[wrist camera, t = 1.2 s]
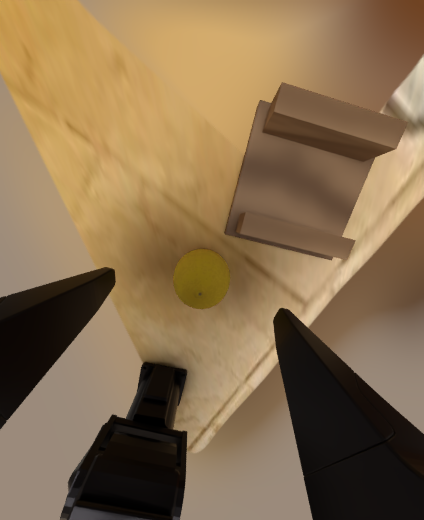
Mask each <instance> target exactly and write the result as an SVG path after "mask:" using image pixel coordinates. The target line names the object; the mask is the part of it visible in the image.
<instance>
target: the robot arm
mask: <svg viewBox="0 0 424 520" xmlns="http://www.w3.org/2000/svg"><path fill="white" fill-rule="evenodd" d="M115 282H116V280H115V270H114V269H112V268H108V267H104V268H101V269H97V270H94V271H90V272H87V273H84V274H80V275H77V276H73V277H70V278H66V279H63V280H59V281H56V282H52V283H49V284H46V285H42V286H39V287H35V288H32V289H29V290H25V291H22V292H18V293H15V294H11V295H8V296H7V297H6V296H5V297H1V298H0V429H1V428H2V427H3V425H4V424H5V423H6V420H8V419H9V418H10V417H11V415H12V414H13V413H14V412H15V411H16V409H17V408H18V407H19V406H20V405H21V403H22V402H23V401H24V400H25V398H26V397H27V396H28V395H29V394H30V392H31V391H32V390H33V388H35V386H36V385H37V384H38V382H39V381H40V380H41V379H42V378H43V376H44V375H45V374H46V373H47V372H48V371H49V369H50V368H51V367H52V365H54V363H55V362H56V361H57V360H58V358H59V357H60V356H61V355H62V354H63V352H64V351H65V350H66V349H67V348H68V346H69V345H70V344H71V343H72V341H73V340H74V339H75V338H76V337H77V335H78V334H79V333H80V332H81V330H82V329H83V328H84V327H85V326H86V324H87V323H88V322H89V321H90V320H91V318H92V317H93V316H94V315H95V313H96V312H97V311H98V310H99V308H100V307H101V305H102V304H103V302H104V301H105V299H106V298H107V296H108V295H109V293H110V292H111V290H112V289H113V287H114V285H115ZM273 324H274V333H275V342H276V350H277V355H278V360H279V365H280V369H281V374H282V378H283V383H284V388H285V392H286V397H287V401H288V406H289V411H290V416H291V419H292V425H293V429H294V434H295V439H296V443H297V448H298V452H299V457H300V462H301V466H302V471H303V475H304V481H305V486H306V490H307V495H308V500H309V504H310V509H311V513H312V518H313V520H424V434H423V433H422V432H421V431H420V430H418V429H417V428H416V427H415V426H414V425H413V424H411V423H410V422H409V421H408V420H407V419H406V418H405V417H404V416H402V415H401V414H400V413H399V412H398V411H397V410H395V409H394V408H393V407H392V406H391V405H390V404H389V403H388V402H387V401H385V400H384V399H383V398H382V397H381V396H380V395H379V394H378V393H377V392H375V391H374V390H373V389H372V388H371V387H370V386H369V385H368V384H367V383H366V382H365V381H364V380H362V378H360V377H359V376H358V375H357V374H356V373H354V371H353V370H352V369H351V368H350V367H349V366H348V365H347V364H346V363H345V362H343V361H342V360H341V359H340V358H339V357H338V356H337V355H336V354H335V353H334V352H333V351H332V350H331V349H330V348H329V347H327V345H325V344H324V343H323V342H322V341H321V340H320V339H319V338H318V337H317V336H316V335H315V334H314V333H313V332H312V331H311V330H310V329H309V328H308V327H306V326H305V325H304V324H303V323H302V322H301V321H300V320H299V319H298V318H297V317H296V316H295V315H294V314H293V313H292V312H291V311H290V310H288V309H285V308H280V309H279V310H278V312H277V314H276V315H275V317H274V320H273ZM186 376H187V371H186V370H183V369H178V368H173V367H167V366H162V365H157V364H151V363H143V365H142V367H141V372H140V377H139V383H138V389H137V394H136V396H135V398H134V401H133V403H132V405H131V407H130V410H129V412H128V414H127V417H126V419H125V418H120V417H117V415H112V416H111V417H110V419H109V421H108V422H107V423H105V425H103V426H102V428H101V430H100V431H99V433H98V435H97V437H96V439H95V441H94V443H93V444H92V446H91V447H90V449H89V450H88V452H87V453H86V455H85V456H84V457H83V459H82V460H81V462H80V463H79V464H78V466H77V467H76V469H75V470H74V472H73V473H72V475H71V477H70V479H69V481H68V491H69V493H68V495H67V498H66V502H65V505H64V508H63V511H62V513H61V517H60V520H180V515H181V510H182V504H183V498H184V490H185V479H186V452H187V431H178V430H173V427H174V421H175V416H176V410H177V406H178V405H179V403H180V400H181V396H182V392H183V388H184V384H185V380H186Z"/></svg>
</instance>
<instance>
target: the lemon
mask: <svg viewBox="0 0 424 520" xmlns="http://www.w3.org/2000/svg"><path fill="white" fill-rule="evenodd" d="M173 283H174V288H175V291H176V294H177V295H178V297H179V299H180V300H181V301H182V302H183V303H184V304H186V305H188V306H190V307H192V308H196V309H206V308H210V307H212V306H215V305H216V304H218V303H219V302H220V301H221V300H222V299H223V298H224V296H225V295H226V293H227V291H228V288H229V283H230V272H229V269H228V266H227V264H226V262H225V261H224V259H223V258H222V257H221V256H220V255H219V254H217V253H216V252H214V251H212V250H208V249H196V250H193V251H190V252H189V253H187V254H185V255H184V256H183V257H182V258H181V259H180V260H179V262H178V264H177V266H176V268H175V271H174V275H173Z"/></svg>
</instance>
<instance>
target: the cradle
mask: <svg viewBox="0 0 424 520" xmlns="http://www.w3.org/2000/svg"><path fill="white" fill-rule="evenodd" d="M407 124H408V122H406V121H403V120H400V119H397V118H393V117H390V116H387V115H384V114H381V113H378V112H375V111H371V110H368V109H365V108H362V107H359V106H356V105H352V104H349V103H346V102H343V101H340V100H336V99H334V98H330V97H327V96H324V95H321V94H318V93H314V92H311V91H308V90H305V89H302V88H298V87H296V86H293V85H289V84H286V83H281V85H280V87H279V89H278V91H277V93H276V95H275V97H274V99H273V101H272V103H269V102H265V101H262V100H260V101H259V104H258V106H257V110H256V114H255V118H254V121H253V125H252V129H251V133H250V137H249V141H248V145H247V149H246V152H245V156H244V160H243V164H242V168H241V172H240V175H239V179H238V183H237V187H236V191H235V195H234V199H233V203H232V207H231V210H230V214H229V218H228V222H227V226H226V230H225V234H227V235H231V236H235V237H239V238H243V239H247V240H251V241H255V242H259V243H263V244H268V245H272V246H276V247H280V248H284V249H288V250H292V251H296V252H300V253H304V254H308V255H312V256H316V257H320V258H324V259H328V260H332V258H333V257H336V258H340V259H344V260H347V259H348V257H349V254H350V252H351V250H352V248H353V245H354V243H355V241H356V240H352V239H348V238H344V237H342V235H343V232H344V230H345V228H346V225H347V223H348V220H349V218H350V216H351V213H352V211H353V209H354V206H355V204H356V202H357V199H358V197H359V194H360V192H361V190H362V187H363V185H364V183H365V180H366V178H367V175H368V173H369V171H370V168H371V166H372V164H373V161H374V159H375V157H377V156H380V155H382V154H385V153H387V152H390V151H392V150H395V149H396V148H397V146H398V144H399V142H400V139H401V137H402V135H403V133H404V130H405V128H406V126H407Z"/></svg>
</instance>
